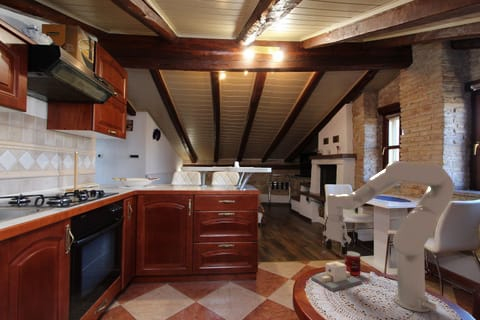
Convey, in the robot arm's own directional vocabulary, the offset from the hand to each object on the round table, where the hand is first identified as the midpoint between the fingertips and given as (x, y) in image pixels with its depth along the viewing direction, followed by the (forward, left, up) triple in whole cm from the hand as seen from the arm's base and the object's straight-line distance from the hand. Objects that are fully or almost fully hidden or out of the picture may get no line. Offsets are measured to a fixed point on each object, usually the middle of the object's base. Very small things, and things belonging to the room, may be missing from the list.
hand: (336, 251), depth 122 cm
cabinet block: (0, 0, -13) cm, 13 cm away
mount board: (0, 0, -15) cm, 15 cm away
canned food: (+3, -16, -15) cm, 22 cm away
